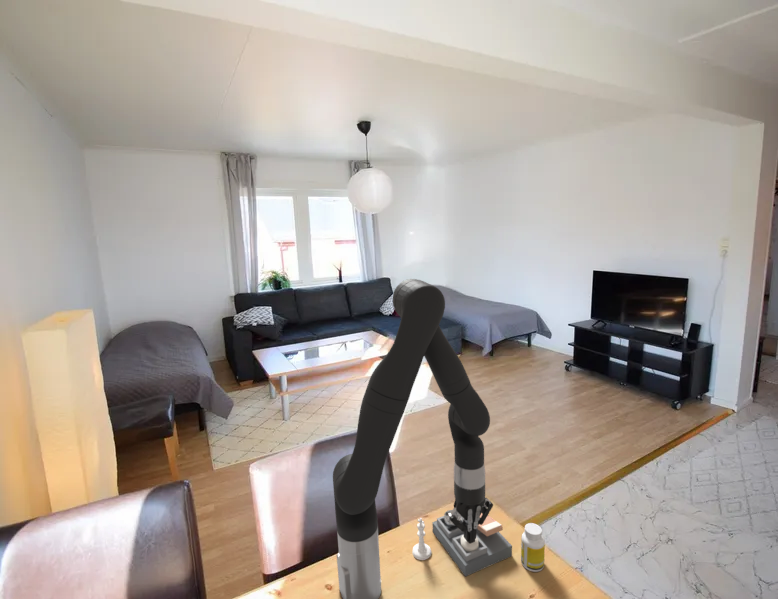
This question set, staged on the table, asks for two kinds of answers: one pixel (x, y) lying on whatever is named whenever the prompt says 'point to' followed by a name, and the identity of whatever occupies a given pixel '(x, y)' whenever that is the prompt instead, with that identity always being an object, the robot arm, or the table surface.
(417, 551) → the chess piece
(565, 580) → the table surface
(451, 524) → the metal button
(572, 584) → the table surface
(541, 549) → the supplement bottle
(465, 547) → the white button
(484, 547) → the panel
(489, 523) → the rocker
